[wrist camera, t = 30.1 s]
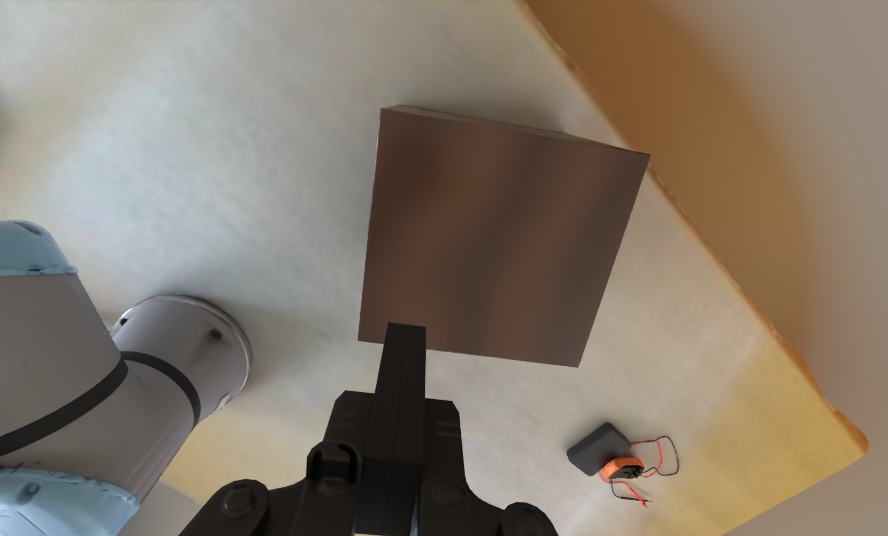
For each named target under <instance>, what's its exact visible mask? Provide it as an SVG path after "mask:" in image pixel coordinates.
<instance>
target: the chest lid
mask: <svg viewBox="0 0 888 536" xmlns="http://www.w3.org/2000/svg"><path fill="white" fill-rule="evenodd" d="M649 159H650V154H646V153H640V152H634V151H629V150H623V149H617V148H611V147H605V146H600V145H594V144H588V143H582V142H577V141H571V140H565V139H559V138H553V137H548V136H542V135H536V134H530V133H524V132H519V131H513V130H507V129H501V128H495V127H490V126H484V125H478V124H472V123H466V122H461V121H455V120H449V119H443V118H437V117H432V116H426V115H420V114H414V113H408V112H403V111H397V110H391V109H385V108H381V109H380V120H379V130H378V140H377V150H376V160H375V170H374V180H373V190H372V200H371V211H370V221H369V231H368V241H367V251H366V261H365V271H364V281H363V291H362V302H361V312H360V322H359V332H358V341H363V342H371V343H379V344H384V341H385V336H386V330H387V325H388V322H392V323H400V324H408V325H416V326H424V327H426V349H428V350H437V351H445V352H453V353H461V354H470V355H478V356H486V357H494V358H503V359H511V360H519V361H527V362H536V363H544V364H552V365H560V366H568V367H577V368H578V367H579V364H580V361H581V358H582V355H583V352H584V349H585V346H586V343H587V340H588V337H589V335H590V332H591V329H592V326H593V323H594V320H595V317H596V314H597V311H598V308H599V305H600V302H601V299H602V296H603V294H604V291H605V288H606V285H607V282H608V279H609V276H610V273H611V270H612V267H613V264H614V261H615V258H616V255H617V252H618V250H619V247H620V244H621V241H622V238H623V235H624V232H625V229H626V226H627V223H628V220H629V217H630V214H631V211H632V209H633V206H634V203H635V200H636V197H637V194H638V191H639V188H640V185H641V182H642V179H643V176H644V173H645V170H646V167H647V165H648V162H649Z"/></svg>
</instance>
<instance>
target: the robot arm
mask: <svg viewBox="0 0 888 536" xmlns="http://www.w3.org/2000/svg"><path fill="white" fill-rule="evenodd" d="M77 272H78V271H77V269H76V268H75V267H74V266H71V265H70V263H69V262H68V260H67V259H66V257H65V256H64V254H63V253H62V252H61V250H60V248H59V247H58V245H57V244H56V242H55V240H54V239H53V237H52V236H51V235H50V233H49V232H47V231H46V230H45V229H44V228H42V227H41V226H39V225H37V224H34V223H31V222H28V221H20V220H10V221H0V536H116V535H117V533H118V532H119V531H120V530H121V528H122V527H123V526H124V525H125V523H126V522H127V521H128V519H130V518H132V517H133V516H134V515H135V514H136V512H137V510H138V509H139V507H140V505H141V504H142V502H143V501H144V500H145V498H146V497H147V495H148V494H149V492H150V491H151V490H152V488H153V487H154V485H155V484H156V482H157V481H158V479H159V478H160V477H161V475H162V474H163V472H164V471H165V469H166V468H167V466H168V465H169V464H170V462H171V461H172V459H173V458H174V456H175V455H176V453H177V452H178V450H179V449H180V448H181V446H182V445H183V443H184V442H185V440H186V439H187V437H188V436H189V434H190V433H191V432H192V430H193V429H194V428H195V426H196V425H197V424H198V423H200V422H201V421H202V420H204V419H205V418H206V417H208V416H209V415H210V414H212V413H213V412H214V411H215V412H214V414H215V413H217V412H218V411H220V410H221V409H222V407H223V406H224V405H226V404H227V403H228V402H230V401H231V400H232V399H233V398H234V397H235V396H236V395H237V394H238V393H239V392H240V390H241V389H242V387H243V386H244V384H245V383H246V381H247V379H248V377H249V375H250V372H251V369H252V352H251V348H250V344H249V342H248V340H247V338H246V336H245V334H244V332H243V331H242V329H241V328H240V327H239V326H238V324H237V323H236V322H235V321H234V320H233V319H232V318H231V317H230V316H228V315H227V314H226V313H225V312H223V311H222V310H220V309H219V308H217V307H215V306H213V305H212V304H210V303H207V302H205V301H203V300H200V299H197V298H193V297H189V296H183V295H161V296H156V297H152V298H149V299H147V300H144V301H142V302H140V303H139V304H137V305H136V306H134V307H133V308H131V309H130V310H129V311H127V312H126V313H125V314H124V315H123V316H122V317H121V318H120V319H119V320H118V321H117V322H116V323H115V325H114V326H113V328H112V329H111V331H108V330H107V328H106V327H105V325H104V323H103V321H102V320H101V318H100V316H99V314H98V312H97V311H96V309H95V307H94V305H93V303H92V301H91V300H90V298H89V296H88V294H87V292H86V290H85V289H84V287H83V285H82V283H81V281H80V279H79V278H78V276H77V274H76V273H77ZM425 366H426V327H424V326H416V325H408V324H400V323H392V322H388V325H387V330H386V336H385V341H384V346H383V352H382V357H381V362H380V368H379V373H378V379H377V384H376V389H375V394H374V393H365V392H356V391H347V390H345V391H344V392H343V393H342V394H341V395H340V396H339V397H338V398H337V399H336V400H335V403H334V407H333V410H332V413H331V416H330V419H329V423H328V426H327V429H326V432H325V435H324V439H323V441H322V442H320V443H319V444H317V445H316V446H315V447H313V448H312V449H311V451H310V453H309V454H308V456H307V469H306V477H305V478H304V479H303V480H301V481H299V482H297V483H295V484H293V485H290V486H287V487H282V488H277V489H272V490H268V489H267V488H266V486H265V485H264V484H262V483H260V482H259V481H257V480H250V479H243V480H238V481H233V482H231V483H229V484H227V485H225V486H223V487H222V488H220V489H219V490H218V491H217V492H216V493H215V494H214V495H213V496H212V497H211V498H210V499H209V500H208V501H207V503H206V504H205V505H204V506H203V507H202V509H201V510H200V511H199V512H198V513H197V514H196V516H195V517H194V518H193V519H192V520H191V521H190V523H189V524H188V525H187V526H186V528H185V529H184V530H183V531H182V532H181V533H180V534H179V536H354V534H368V535H381V536H410V533H411V536H558V534H557V532H556V530H555V528H554V526H553V524H552V522H551V521H550V520H549V518H548V517H547V516H546V514H545V513H544V512H542V511H541V510H540V509H539V508H537V507H536V506H533V505H531V504H528V503H524V502H516V503H513V504H510V505H508V506H507V507H506V509H505V510H503V509H500V508H498V507H495V506H493V505H490V504H488V503H486V502H484V501H482V500H481V499H480V498H478V497H477V496H476V495H475V494H474V493H473V492H472V491H471V490H470V488H469V486H468V484H467V482H466V478H465V471H464V460H463V449H462V439H461V428H460V417H459V412H458V410H457V408H456V407H455V405H454V404H453V402H452V401H447V400H438V399H429V398H425ZM214 414H213V415H214Z"/></svg>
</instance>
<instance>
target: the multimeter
mask: <svg viewBox="0 0 888 536" xmlns="http://www.w3.org/2000/svg"><path fill="white" fill-rule="evenodd" d="M663 437H667V436H663ZM663 437H660V438H663ZM660 438H658V439H660ZM667 438H669V437H667ZM658 439H656V440H658ZM669 439H670V438H669ZM656 440H646V441H641V442H632V443H635V444H639V443H643V442H654V441H656ZM670 441H671V439H670ZM656 442H657V443H658V445H659V450H660V444H659V442H658V441H656ZM671 442H672V441H671ZM632 443H630V442H629V441H628V439H627V438H626V437H625V436H624V435H622V434H621V433H620V432H619V431H618V430H617V429H615V428H614V427H613V426H612V425H611V424H610V423H605V424H603V425H602V426H601V427H600V428H598V429H597V430H596V431H595V432H593V433H592V434H591V435H589V436H588V437H587V438H585V439H584V440H583V441H581V442H580V443H578V444H577V445H575V446H574V447H572V448H571V449H569V450H568V451H567V456H568V459H569V461H570V462H571V463H572V464H574V465H575V466H576V467H577V468H579V469H580V470H581V471H583V472H584V473H585V474H586V475H588V476H593V475H594V474H596V473H597V472H598V473H599V471H600V470H601V469H602V468H603V473H604V475H605V476H606V478H607V479H611V482H607V481H605V480H604V479H603V478H602V477H601V475H600V473H599V475H600V477H601V478H602V479H603V480H604V481H605V482H607V483H611V486H612V483H625V482H612V479H616V478H627V479H633V478H638V476H642V477H649V476H651V475H653V474H654V473H655V472H656V471H657V472H658V469H659V467H660V465H661V463H662V454H661V450H660V454H661V463H660V465H659V467H658V468H657V469H656V468H655V467H653V468H655V469H656V471H655V472H654V473H652V474H651V475H649V476H643V475H641V474H642V473H645V472H647V471H649V470H651V469H653V468H650V469H649V470H647V471H645V472H642V471H643V470H644V469H645V467H644V465H643V464H642V462H641V461H640V459H639V458H636V457H628V458H618V457H619V456H621V455H622V454H624V453H626V452H627V451H629V450H630V449H631V447H632V445H635V444H632ZM631 444H632V445H631ZM672 444H673V442H672ZM673 447H674V444H673ZM674 449H675V447H674ZM675 452H676V449H675ZM676 456H677V452H676ZM677 461H678V456H677ZM678 470H679V461H678ZM678 470H677V472H678ZM677 472H676V473H677ZM658 473H659V472H658ZM676 473H674V474H676ZM659 474H660V473H659ZM674 474H669V475H674ZM660 475H662V474H660ZM669 475H662V476H669ZM625 484H626V485H627V486H628V487H629V485H628V484H627V483H625ZM629 489H630V490H631V492H632V493H633V494H634V495H635V496H636V497H637V498H638V499H635V498H628V497H618V496H616V495H615V494H614V495H615V496H616V497H618V498H621V499H628V500H637V501H641V502H642V505H644V506H645V507H647V506H646V504H645V502H648V500H642V499H640V498H639V496H638V495H637V494H636V493H635V492H634V491H633V490H632V489H631V488H630V487H629ZM612 491H613V487H612ZM613 493H614V491H613ZM643 501H644V502H643ZM649 502H652V501H649ZM647 508H648V507H647Z"/></svg>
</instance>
